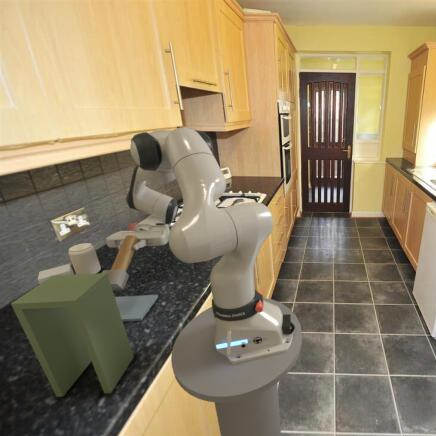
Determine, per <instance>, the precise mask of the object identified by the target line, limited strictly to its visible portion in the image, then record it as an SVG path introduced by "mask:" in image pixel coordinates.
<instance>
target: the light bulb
mask: <svg viewBox="0 0 436 436" xmlns="http://www.w3.org/2000/svg"><path fill="white" fill-rule="evenodd" d="M139 223H140V222H133V223H130V224H129V225H128V226H127V231H133V229H134V227H135V226H136V225H137V224H139Z"/></svg>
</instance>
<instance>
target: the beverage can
mask: <svg viewBox="0 0 436 436" xmlns="http://www.w3.org/2000/svg"><path fill="white" fill-rule="evenodd" d="M68 256H69V259H70V261H71V264H72V268H73V269H74V270H73V271H74V273H75V274H97V273H99V272H100V271H101V270H102V267H101V264H100V261H99V257H98V254H97V252H96V249H95V246H94V245H93V244H92V243H90V242H84V243H79V244H75V245H72V246H71V247H69V248H68Z"/></svg>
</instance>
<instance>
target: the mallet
mask: <svg viewBox="0 0 436 436" xmlns="http://www.w3.org/2000/svg"><path fill="white" fill-rule="evenodd" d="M138 241H139V240H138V238H137V237H136V236H135V235H128V236H126V237H125V239H124V241H123V244H122V246H121V248H120V250H118V253H117V255H116V257H115V260H114V262H113V263H112V266H111V268H110V269H105V270H102V272H101V273H107V275H108V278H109V281H110V284H111V287H112V290H113V291H124V290H125V287H126V285H127V282H128V280H129V277H130V274H129V273H127V270H128V268H129V266H130V263H131V261H132V258H133V255H134V253H135V251H136V250H132V248H131V246H132V245H133V244H136V243H138Z"/></svg>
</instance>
